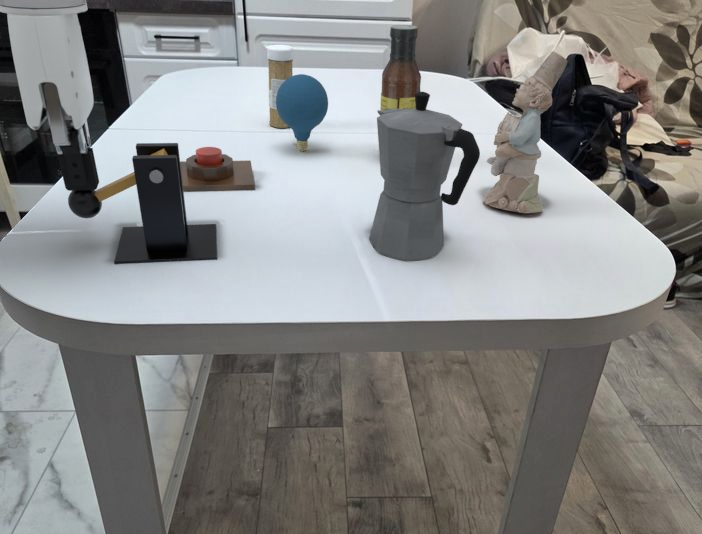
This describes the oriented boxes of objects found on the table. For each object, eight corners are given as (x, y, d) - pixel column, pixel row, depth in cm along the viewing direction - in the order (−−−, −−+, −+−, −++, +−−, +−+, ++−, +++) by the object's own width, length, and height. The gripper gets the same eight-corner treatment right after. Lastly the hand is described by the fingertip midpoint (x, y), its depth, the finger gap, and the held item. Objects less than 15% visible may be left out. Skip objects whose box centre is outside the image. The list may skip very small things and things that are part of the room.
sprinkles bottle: (273, 120, 118) (271, 43, 110) (296, 123, 117) (296, 45, 109) (265, 127, 114) (263, 47, 106) (289, 130, 114) (289, 49, 106)
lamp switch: (115, 271, 68) (95, 165, 61) (124, 235, 75) (106, 137, 69) (217, 266, 70) (208, 163, 63) (216, 232, 77) (208, 136, 71)
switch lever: (78, 228, 68) (58, 201, 66) (83, 215, 70) (64, 189, 68) (177, 180, 67) (159, 152, 65) (178, 169, 69) (161, 142, 67)
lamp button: (196, 167, 87) (195, 155, 86) (196, 159, 90) (195, 146, 89) (222, 167, 87) (221, 154, 86) (222, 158, 90) (221, 146, 89)
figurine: (541, 198, 92) (575, 50, 80) (543, 220, 85) (581, 63, 74) (480, 191, 93) (506, 44, 82) (478, 212, 86) (505, 56, 75)
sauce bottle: (418, 156, 105) (432, 25, 93) (412, 168, 100) (427, 31, 88) (380, 151, 106) (389, 21, 94) (372, 163, 101) (381, 27, 89)
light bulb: (291, 162, 99) (290, 83, 92) (268, 147, 105) (266, 71, 98) (336, 155, 103) (338, 78, 96) (311, 141, 109) (312, 67, 102)
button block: (167, 198, 85) (163, 173, 83) (170, 172, 93) (167, 149, 91) (255, 196, 87) (254, 171, 85) (251, 171, 95) (250, 148, 93)
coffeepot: (343, 234, 79) (349, 83, 68) (398, 217, 84) (411, 74, 73) (429, 284, 69) (452, 118, 59) (485, 262, 74) (515, 105, 64)
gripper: (15, -18, 61) (59, 164, 72) (-30, 2, 50) (30, 217, 60) (95, -17, 63) (126, 163, 73) (70, 3, 51) (111, 214, 61)
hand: (83, 187), depth 67 cm, fingers closed
